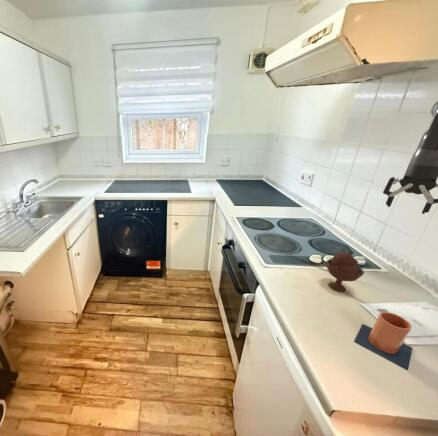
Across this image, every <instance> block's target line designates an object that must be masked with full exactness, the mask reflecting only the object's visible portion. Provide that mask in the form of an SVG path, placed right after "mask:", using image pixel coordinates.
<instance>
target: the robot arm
mask: <svg viewBox="0 0 438 436" xmlns="http://www.w3.org/2000/svg"><path fill="white" fill-rule="evenodd" d="M430 115H431V117H432V118H433V119H432V121H431V123H430V125H429V127H428V129H427V130H425V131H424V132H423V134H422V136H421V138H420V139H419V142H418V145H417V148H416V149H415V151H414V152H413V154H412V156H411V158H410V161H409V163H408V166H407V167H406V170H405V173H404V175H403V177H402V178H397V177H395V176H392V177H390V178H389V179H388V181H387V183H386V185H385V187H384V189H383V191H382V194H384V195H387V200H386V201H385V205H386V206H387V208H390V207H391V206H392V204H393V202H394V200H395V196H396V195H399V194H401V193H403V192H404V193H407V194H414V195H418V196H419V195H423V197H424V198H425V200H426V202H425V205H424V206H423V209H422V211H421V214H423V215H425V213H429V212H430V211H431V208H432V206H433V205H434V204H438V198H434V197H433V195H432V194H431V192H430V191H431V190H433V189H435V188H437V189H438V183H437V180H438V100H437V101H436V102H435V103H434V104H432V106H431V108H430ZM397 183H399V184H400V187H399V188H396V189H395V190H394V191H390V190H391V188H392V187H393V185H396V184H397Z"/></svg>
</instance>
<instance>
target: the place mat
mask: <svg viewBox="0 0 438 436" xmlns="http://www.w3.org/2000/svg"><path fill="white" fill-rule="evenodd" d="M372 328H373V327H370V326H369V325H366V324H364V323H362V324H361V326H360V328H359V330H358V332H357V334H356V337H355V338H354V340H353V342H354V343H356V344H357V345H360V346H361V347H363V348H364V349H367V350H369V351H370V352H373V354H376V355H378V356H380V357H382V358H384V359H385V360H387V361H388V362H389V361H390V362H391V363H393V364H395V365H397V366H399V367H401V368H403V369H405V370H406V371H408V370H409V367H410V363H411V357H412V353H413V347H412V346H410V345H408V344H406V343H404V342H403V343H402V345H401V347H400V348H399V350H398V351H397V353H395V354H390V353H386V352H383V351H381V350H379V349H377V348H376V347H375V346H373V345H372V344H371V343H370V341H369V340H368V336H369V334H370V332H371V330H372Z"/></svg>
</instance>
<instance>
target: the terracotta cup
mask: <svg viewBox="0 0 438 436" xmlns="http://www.w3.org/2000/svg"><path fill="white" fill-rule="evenodd" d="M371 328H372V330H371V332H370V334H369V336H368V340H369V341H370V343H371V344H372V345H373V346H375V347H376V348H377V349H379V350H381V351H383V352H386V353H390V354H395V353H397V351H398V350H399V348H400V347H401V345H402V343H404V342H405V340H406V338H407V336H408V335H409V333H410V332H411V330H412V325H411V323H410V322H409V321H408V320H407V319H405V318H404V317H402V316H400V315H398V314H396V313H393V312H389V311H381V312H379V314H378V316H377V318H376V320H375V322H374V324H373V326H372V327H371Z"/></svg>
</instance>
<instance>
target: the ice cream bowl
mask: <svg viewBox="0 0 438 436" xmlns="http://www.w3.org/2000/svg"><path fill="white" fill-rule="evenodd" d="M325 265H326V268H327V271H328V273H329V274H330V276H332V277H333V278H334V279H336V280H335V281H330V282H329V283H327V285H328V288H330V289H331V290H333V291H335V292H338V293H345V292H346V291H347V289H346V286H345V285H343V284H342V283H343V282H354V281H357V280H359V279H360V278H361V277H363V275H364V274H365V271H364V270H363V268H362V267H361V266H359V261H358V260H357V259H356V258H355V257H354V256H352V254H350V253H348V252H338V253H335V255H333V257H332V258H330V259H328V260H327V259H326V261H325Z"/></svg>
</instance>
